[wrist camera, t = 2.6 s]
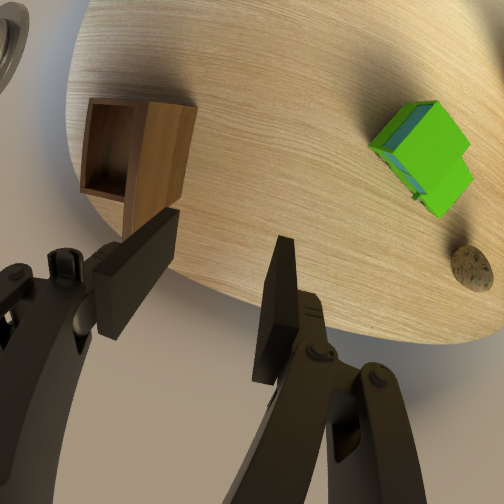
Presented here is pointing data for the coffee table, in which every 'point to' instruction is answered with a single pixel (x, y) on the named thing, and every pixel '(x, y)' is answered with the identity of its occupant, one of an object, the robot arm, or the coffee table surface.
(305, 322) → the robot arm
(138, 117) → the chest lid
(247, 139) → the coffee table surface
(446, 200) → the toy car
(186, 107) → the chest
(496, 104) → the coffee table surface
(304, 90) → the coffee table surface
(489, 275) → the decorative egg
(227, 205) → the coffee table surface
